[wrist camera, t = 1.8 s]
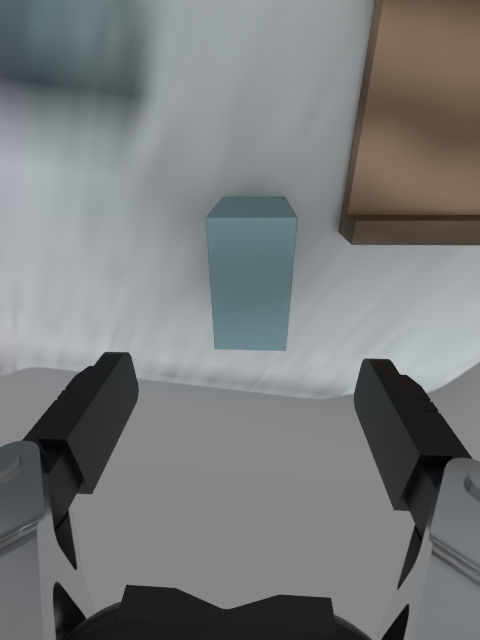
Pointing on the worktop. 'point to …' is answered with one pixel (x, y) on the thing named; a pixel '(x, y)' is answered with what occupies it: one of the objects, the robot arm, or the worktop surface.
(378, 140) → the wall rack
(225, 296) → the cabinet block
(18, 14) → the worktop surface
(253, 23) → the worktop surface
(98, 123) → the worktop surface
